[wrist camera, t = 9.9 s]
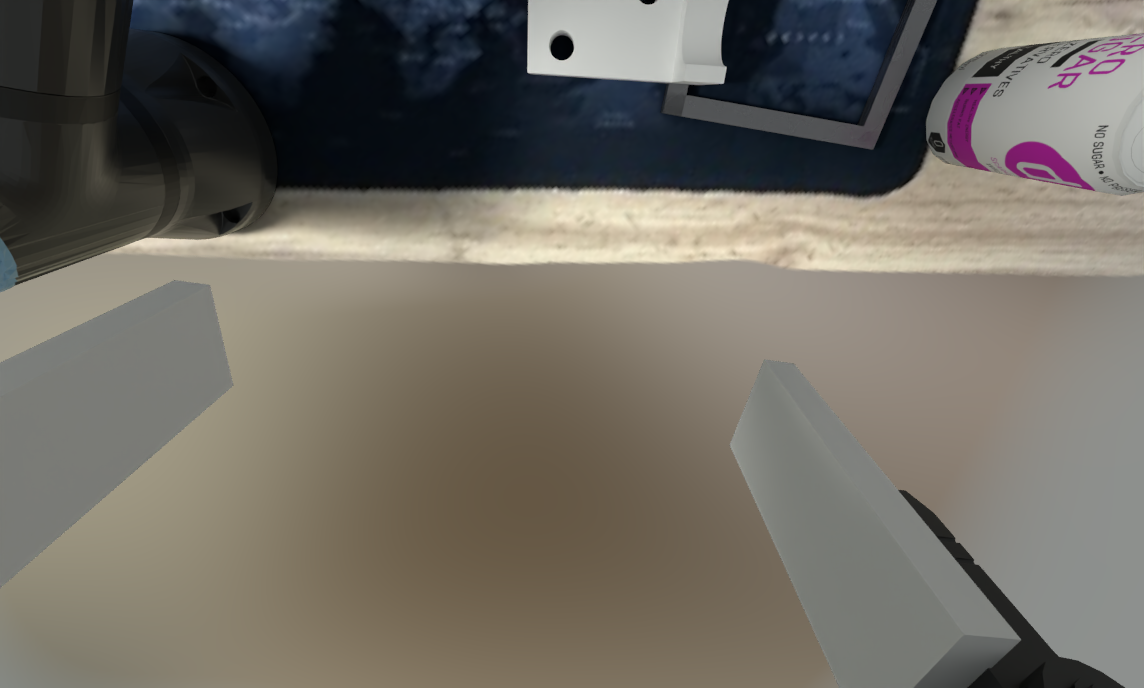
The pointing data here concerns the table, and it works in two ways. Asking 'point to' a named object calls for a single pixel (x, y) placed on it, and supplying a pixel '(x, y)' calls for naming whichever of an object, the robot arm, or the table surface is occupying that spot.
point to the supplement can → (1048, 113)
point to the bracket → (630, 40)
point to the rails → (810, 127)
